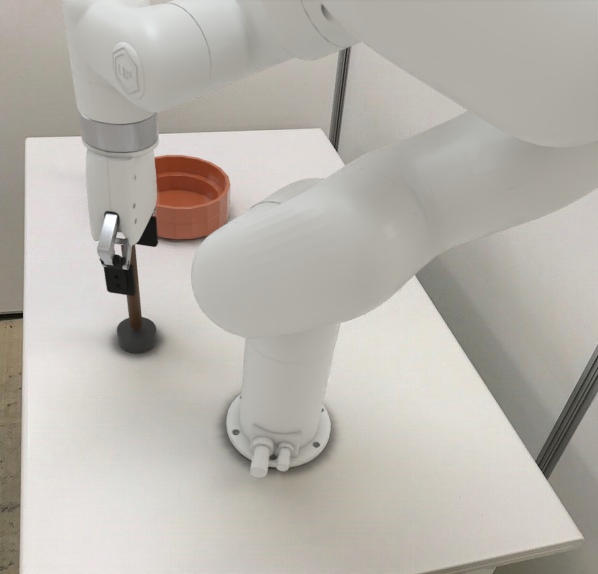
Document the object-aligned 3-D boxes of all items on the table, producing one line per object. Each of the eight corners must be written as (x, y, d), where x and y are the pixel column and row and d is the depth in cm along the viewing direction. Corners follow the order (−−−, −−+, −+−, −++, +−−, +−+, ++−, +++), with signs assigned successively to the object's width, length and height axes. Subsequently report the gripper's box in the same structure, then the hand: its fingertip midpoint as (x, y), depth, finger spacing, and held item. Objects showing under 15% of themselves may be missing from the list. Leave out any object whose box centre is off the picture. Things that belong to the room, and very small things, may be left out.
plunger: (151, 356, 83) (143, 255, 72) (113, 350, 83) (98, 248, 72) (161, 330, 87) (154, 230, 75) (124, 325, 87) (112, 223, 75)
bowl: (218, 249, 100) (219, 215, 96) (116, 233, 100) (112, 198, 96) (236, 196, 111) (237, 163, 107) (144, 181, 111) (141, 148, 107)
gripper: (108, 85, 69) (123, 223, 82) (49, 161, 58) (77, 308, 70) (177, 96, 69) (181, 232, 82) (132, 174, 58) (145, 319, 70)
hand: (133, 267), depth 76 cm, fingers open, 9 cm apart
